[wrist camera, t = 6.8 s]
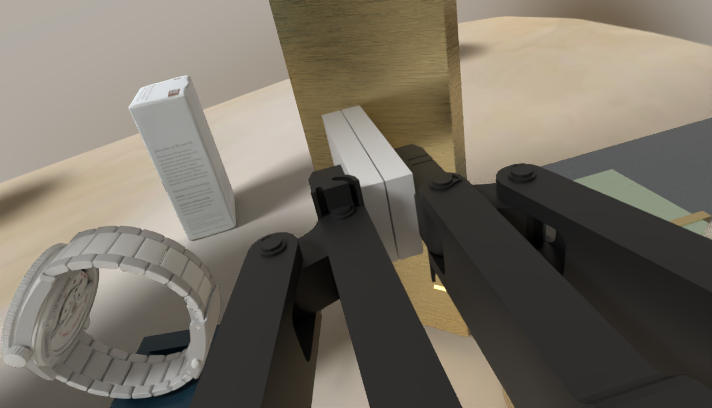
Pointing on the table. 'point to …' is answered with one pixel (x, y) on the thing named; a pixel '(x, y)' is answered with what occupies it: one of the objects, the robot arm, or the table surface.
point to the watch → (71, 314)
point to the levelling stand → (653, 175)
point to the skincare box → (185, 156)
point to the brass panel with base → (383, 96)
